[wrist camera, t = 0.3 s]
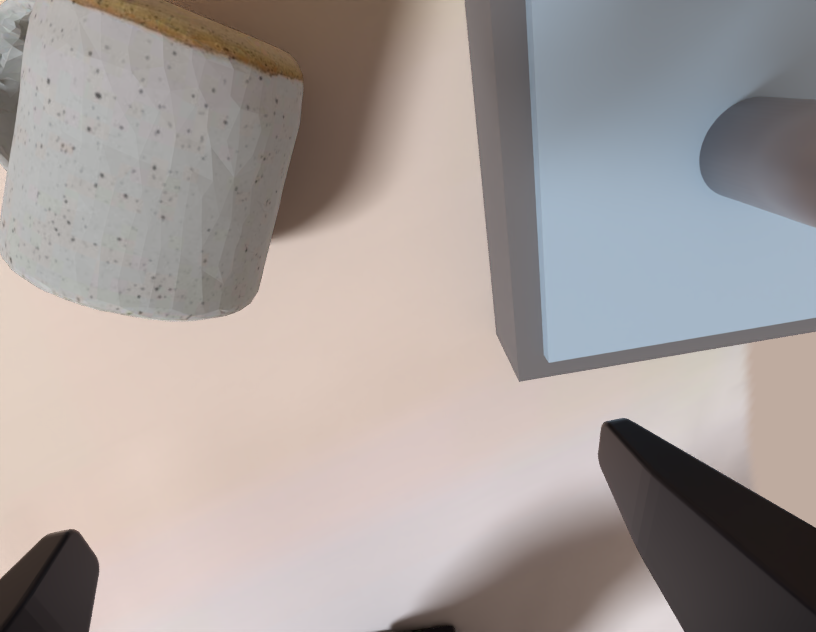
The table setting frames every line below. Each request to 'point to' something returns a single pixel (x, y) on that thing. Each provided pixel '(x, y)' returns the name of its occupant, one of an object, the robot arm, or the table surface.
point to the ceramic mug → (141, 154)
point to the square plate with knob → (672, 168)
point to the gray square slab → (516, 203)
